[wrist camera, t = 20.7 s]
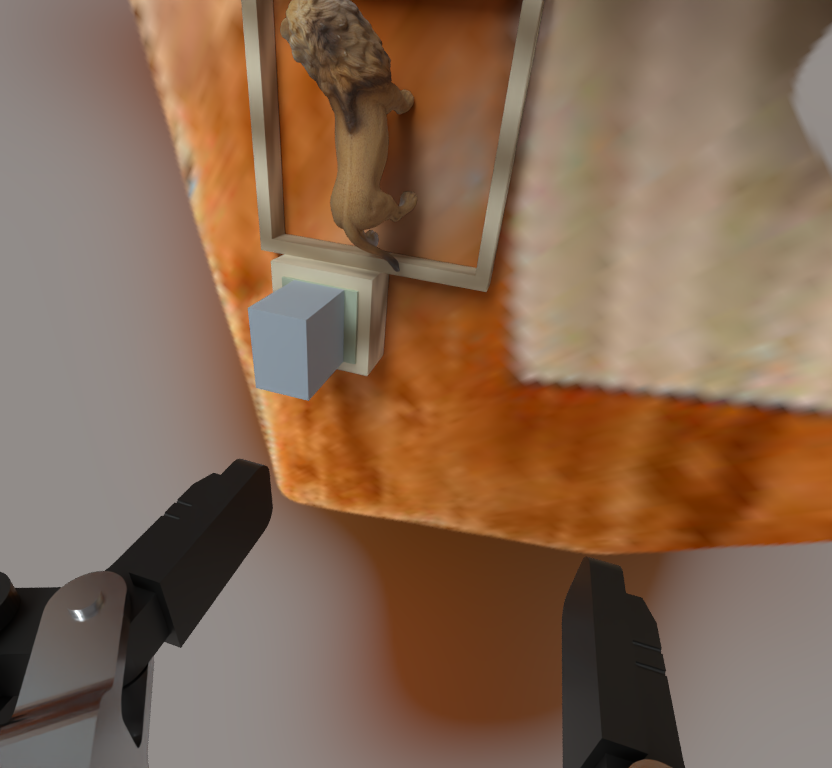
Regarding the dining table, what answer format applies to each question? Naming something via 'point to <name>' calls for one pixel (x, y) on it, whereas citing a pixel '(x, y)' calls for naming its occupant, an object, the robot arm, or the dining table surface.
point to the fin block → (297, 338)
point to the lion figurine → (352, 110)
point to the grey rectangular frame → (347, 263)
